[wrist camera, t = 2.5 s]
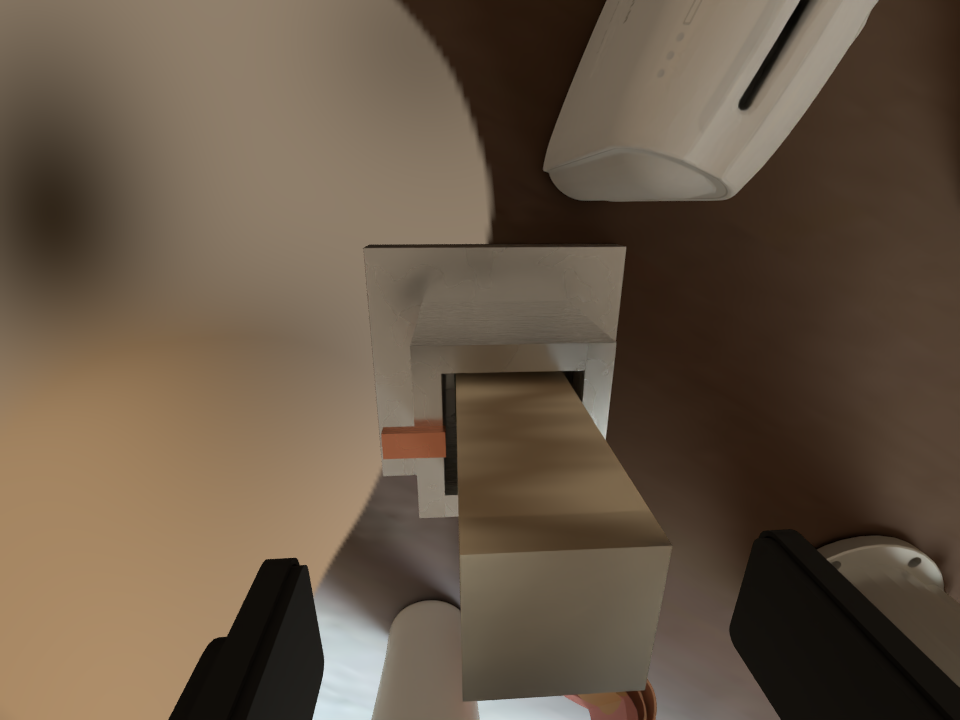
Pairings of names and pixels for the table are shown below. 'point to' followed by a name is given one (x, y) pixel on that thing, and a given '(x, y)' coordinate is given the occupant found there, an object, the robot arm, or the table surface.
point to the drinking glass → (424, 666)
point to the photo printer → (693, 94)
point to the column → (549, 545)
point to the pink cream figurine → (619, 704)
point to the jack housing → (481, 339)
